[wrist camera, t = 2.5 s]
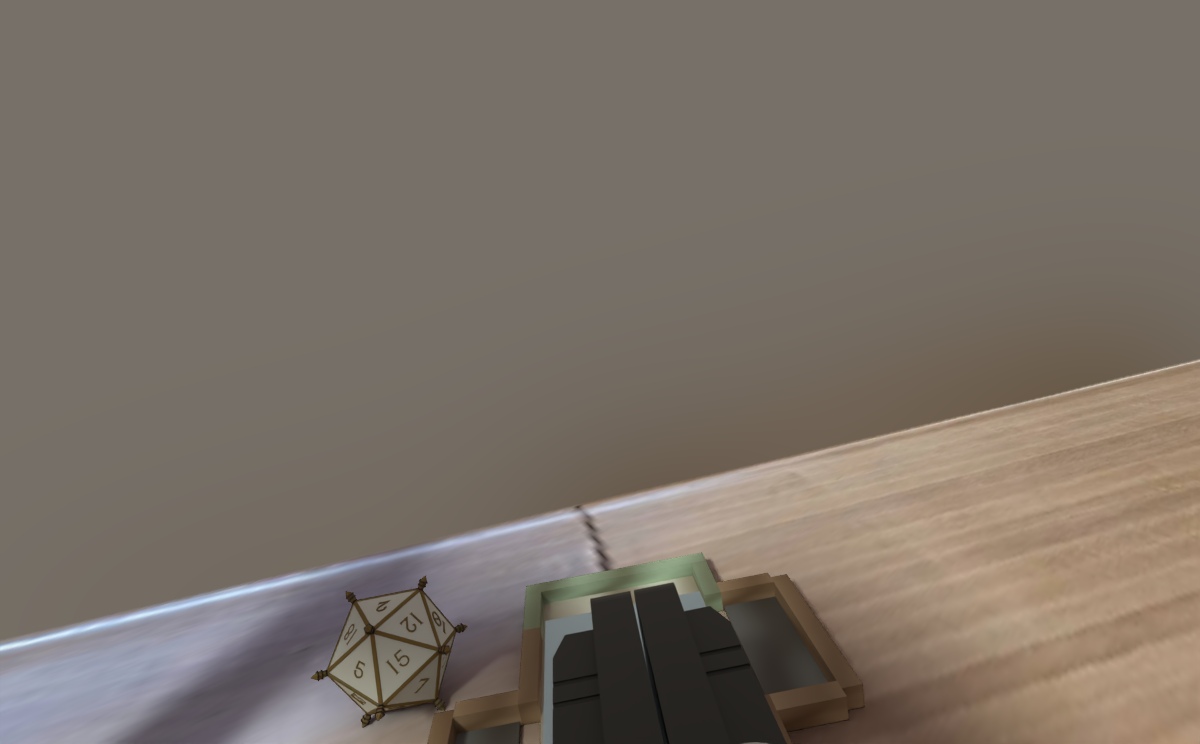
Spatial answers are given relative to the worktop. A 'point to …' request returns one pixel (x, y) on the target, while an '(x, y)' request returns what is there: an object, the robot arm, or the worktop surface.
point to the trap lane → (753, 605)
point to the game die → (392, 652)
